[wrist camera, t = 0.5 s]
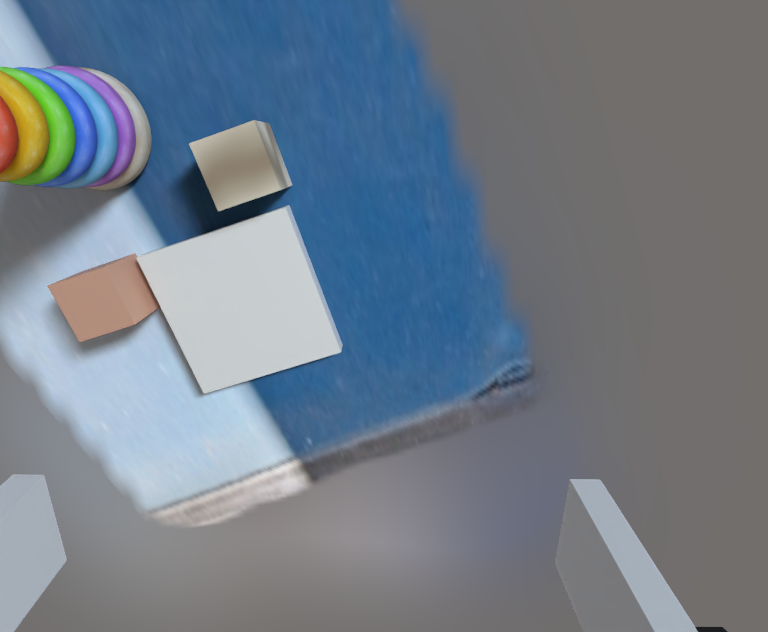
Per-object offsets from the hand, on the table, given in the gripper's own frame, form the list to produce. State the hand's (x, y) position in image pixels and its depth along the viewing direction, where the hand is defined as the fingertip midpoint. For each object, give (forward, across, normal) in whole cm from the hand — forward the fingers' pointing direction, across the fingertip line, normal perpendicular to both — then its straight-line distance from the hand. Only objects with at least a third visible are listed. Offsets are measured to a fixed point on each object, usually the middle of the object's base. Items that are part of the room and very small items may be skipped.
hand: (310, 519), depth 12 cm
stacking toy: (+28, -18, +9) cm, 35 cm away
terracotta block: (+28, -19, -2) cm, 33 cm away
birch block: (+28, -8, +7) cm, 30 cm away
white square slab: (+27, -9, -3) cm, 29 cm away
